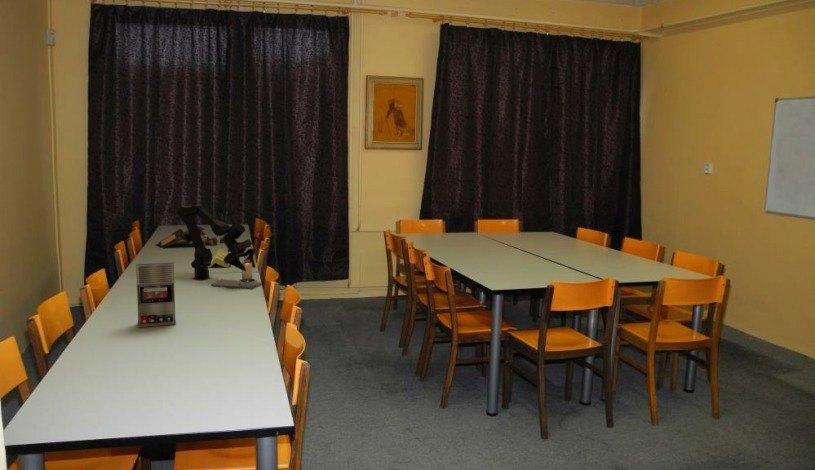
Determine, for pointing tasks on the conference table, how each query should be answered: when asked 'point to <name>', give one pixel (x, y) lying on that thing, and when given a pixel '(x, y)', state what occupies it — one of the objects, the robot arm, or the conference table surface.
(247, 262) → the tan bottle
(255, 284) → the plate
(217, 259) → the plastic component
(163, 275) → the cassette tape recorder
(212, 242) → the toolset
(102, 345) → the conference table surface
